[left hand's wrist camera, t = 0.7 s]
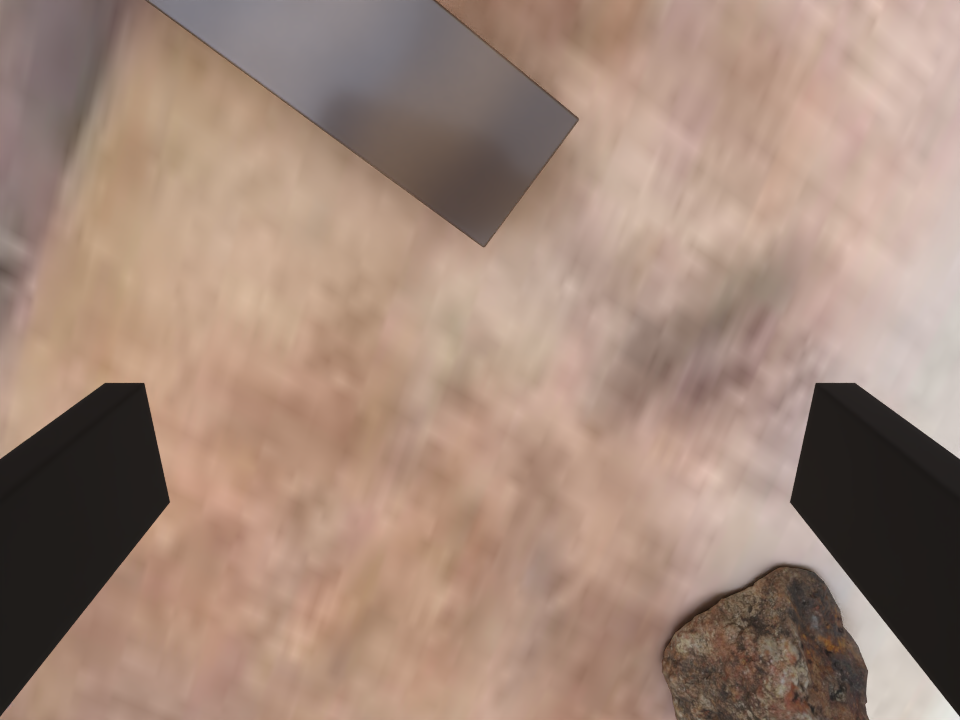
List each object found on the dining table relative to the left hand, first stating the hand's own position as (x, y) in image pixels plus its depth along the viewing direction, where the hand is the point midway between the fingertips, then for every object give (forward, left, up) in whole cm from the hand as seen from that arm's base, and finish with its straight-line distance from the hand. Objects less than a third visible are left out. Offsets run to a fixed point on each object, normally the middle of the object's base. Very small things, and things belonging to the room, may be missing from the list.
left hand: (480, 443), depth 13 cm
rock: (+26, -17, -20) cm, 37 cm away
